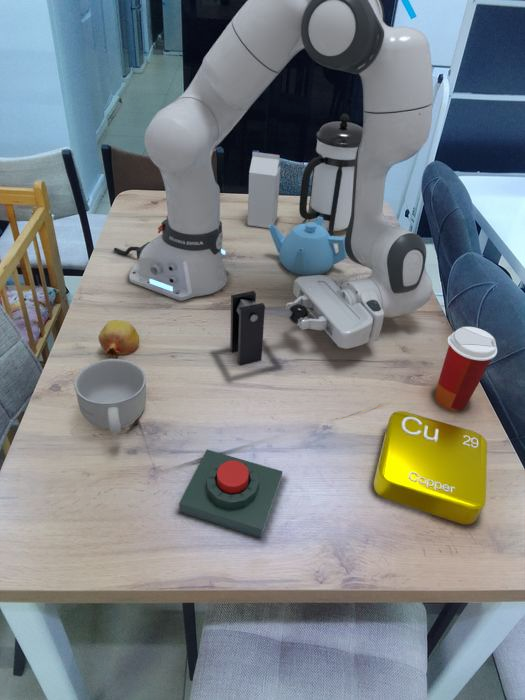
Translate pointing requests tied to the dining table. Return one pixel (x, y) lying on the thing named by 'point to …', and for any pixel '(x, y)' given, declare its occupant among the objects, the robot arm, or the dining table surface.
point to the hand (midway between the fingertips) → (293, 316)
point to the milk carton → (263, 189)
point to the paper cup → (464, 366)
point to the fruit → (118, 338)
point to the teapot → (308, 248)
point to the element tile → (433, 467)
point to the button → (232, 477)
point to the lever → (280, 310)
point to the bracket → (247, 328)
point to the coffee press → (331, 175)
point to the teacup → (111, 393)
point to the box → (231, 495)
